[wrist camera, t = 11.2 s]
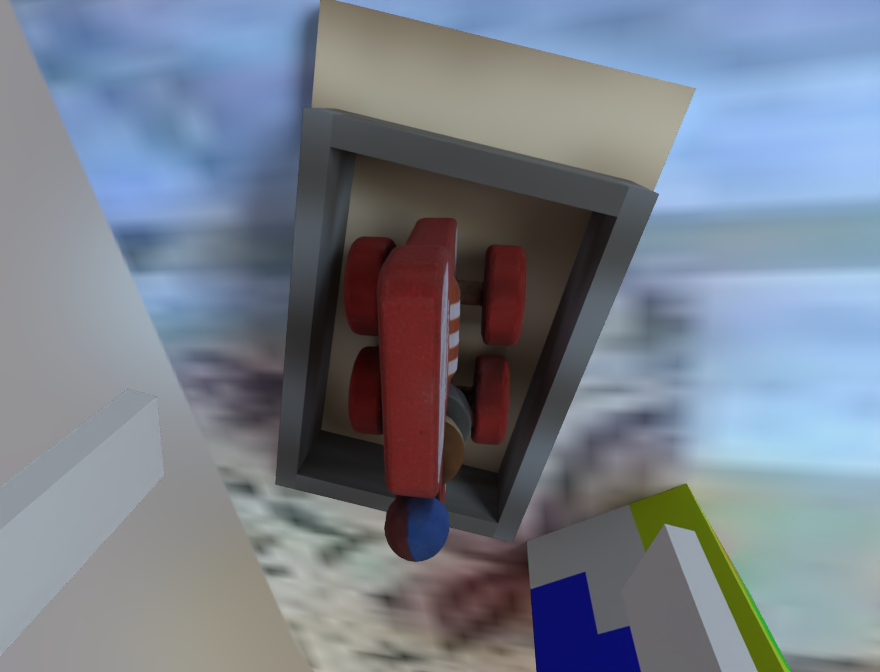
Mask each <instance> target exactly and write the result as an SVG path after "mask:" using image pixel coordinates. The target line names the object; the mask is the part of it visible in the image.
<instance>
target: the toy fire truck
mask: <svg viewBox="0 0 880 672" xmlns="http://www.w3.org/2000/svg"><path fill="white" fill-rule="evenodd" d="M456 261H457V221H456V220H455V219H454V218H421V219H419V220H418V221H417V222H416V224H415V226H414V228H413V230H412V231H411V234H410V235H409V237H408V239H407V241H406V244H405V245H402V246H399V247H396V244H395V243H394V241H393V240H392V239H390V238H387V237H369V236H363V237H359V238H357V239H356V240H355V241H354V242H353V243H352V245H351V247H350V250H349V253H348V257H347V261H346V266H345V274H344V307H345V313H346V318H347V321H348V325H349V327H350V329H351V330H352V332H354V333H355V334H358V335H365V336H379V347H374V346H367V347H364V348H362V349H361V350H360V352H359V353H358V355H357V357H356V360H355V362H354V366H353V370H352V374H351V379H350V386H349V395H348V414H349V420H350V423H351V426H352V428H353V430H354V431H355V432H357V433H361V434H372V435H382V434H383V438H384V463H385V482H386V486H387V488H388V490H389V492H391V493H393V494H395V500H394V501H393V502H392V503H391V504H390V506H389V508H388V511H387V514H386V521H385V527H384V529H385V536H386V539H387V542H388V544H389V546H390V547H391V549H392V550H393V551H394V552H395V553H396V554H397V555H398V556H399V557H401V558H403V559H405V560H408V561H414V562H418V561H424V560H427V559H429V558H431V557H433V556H435V555H436V554H437V553H438V552H439V551H440V549H441V548H442V547H443V545H444V544H445V542H446V539H447V536H448V532H449V519H450V518H449V513H448V511H447V509H446V507H445V506H444V501H445V491H446V483H448V482H449V481H450V480H451V479H452V478H453V477H454V476H455V475H456V474H457V473H458V471H459V469H460V467H461V465H462V462H463V459H464V454H465V450H464V443H465V442H466V440H467V438H468V436H469V434H470V430H471V439H472V441H473V442H474V443H476V444H489V445H499V444H501V443H502V442H503V441H504V438H505V435H506V429H507V420H508V411H509V393H510V369H509V364H508V360H507V359H506V358H504V357H502V356H484V355H483V356H478V357H477V358H476V360H475V368H474V380H473V386H471V387H467V386H454V385H453V384H452V377H453V376H454V374H455V372H456V370H457V362H458V345H459V324H460V304H463V305H473V306H476V305H479V306H482V320H481V335H482V339H483V342H484V343H485V344H486V345H497V346H513V345H516V343H517V342H518V341H519V339H520V336H521V331H522V325H523V317H524V308H525V296H526V255H525V251H524V249H523V248H522V247H520V246H514V245H497V244H495V245H491V246H489V247H488V249H487V250H486V255H485V269H484V281H483V282H477V281H468V280H458V279H457V276H456V269H457V263H456Z"/></svg>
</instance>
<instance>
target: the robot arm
mask: <svg viewBox="0 0 880 672" xmlns="http://www.w3.org/2000/svg"><path fill="white" fill-rule="evenodd" d="M163 467H164V466H163V456H162V445H161V435H160V424H159V414H158V403H157V396H154V395H149V394H145V393H142V392H138V391H134V390H130V389H127V390H126V391H124V392H123V393H122V394H120V395H119V396H118V397H116V398H115V399H114V400H112V401H111V402H110V403H109V404H107V405H106V406H105V407H103V408H102V409H101V410H100V411H98V412H97V413H96V414H94V415H93V416H92V417H90V418H89V419H88V420H86V421H85V422H84V423H82V424H81V425H80V426H79V427H77V428H76V429H75V430H74V431H72V432H71V433H70V434H68V435H67V436H65V437H64V438H63V439H62V440H60V441H59V442H58V443H56V444H55V445H54V446H53V447H51V448H50V449H48V450H47V451H46V452H45V453H43V454H42V455H41V456H39V457H38V458H37V459H35V460H34V461H33V462H31V463H30V464H29V465H28V466H26V467H25V468H24V469H22V470H21V471H20V472H18V473H17V474H16V475H15V476H13V477H12V478H11V479H9V480H8V481H7V482H5V483H4V484H3V485H1V486H0V656H1V655H2V654H3V653H4V652H5V651H6V649H7V648H8V647H9V646H10V645H11V644H12V643H13V642H14V640H16V638H17V637H18V636H19V635H20V634H21V633H22V632H23V631H24V630H25V628H26V627H27V626H28V625H29V624H30V623H31V622H32V621H33V620H34V619H35V617H36V616H37V615H38V614H39V613H40V612H41V611H42V610H43V609H44V608H45V606H46V605H47V604H48V603H49V602H50V601H51V600H52V599H53V598H54V596H55V595H56V594H57V593H58V592H59V591H60V590H61V589H62V588H63V586H64V585H65V584H66V583H67V582H68V581H69V580H70V579H71V578H72V576H73V575H74V574H75V573H76V572H77V571H78V570H79V569H80V568H81V567H82V566H83V564H84V563H85V562H86V561H87V560H88V559H89V558H90V557H91V556H92V555H93V553H94V552H95V551H96V550H97V549H98V548H99V547H100V546H101V545H102V543H103V542H104V541H105V540H106V539H107V538H108V537H109V536H110V535H111V534H112V532H113V531H114V530H115V529H116V528H117V527H118V526H119V525H120V523H121V522H122V521H123V520H124V519H125V518H126V517H127V516H128V515H129V514H130V512H131V511H132V510H133V509H134V508H135V507H136V506H137V504H139V503H140V501H141V500H142V499H143V498H144V497H145V496H146V495H147V494H148V493H149V492H150V490H151V489H152V488H153V487H154V486H155V485H156V484H157V483H158V482H159V480H160V479H161V478H162V477H163V476H164V468H163ZM621 592H622V596H623V600H624V604H625V608H626V612H627V616H628V620H629V625H630V629H631V633H632V637H633V641H634V645H635V649H636V653H637V657H638V661H639V665H640V670H641V672H758V671H757V669H756V667H755V665H754V663H753V660H752V658H751V656H750V654H749V651H748V649H747V647H746V645H745V643H744V640H743V638H742V636H741V634H740V631H739V629H738V627H737V625H736V623H735V620H734V618H733V616H732V614H731V611H730V609H729V607H728V605H727V602H726V600H725V598H724V596H723V594H722V591H721V589H720V587H719V585H718V582H717V580H716V578H715V576H714V574H713V571H712V569H711V567H710V565H709V562H708V560H707V558H706V556H705V554H704V551H703V549H702V547H701V545H700V542H699V540H698V538H697V536H696V533H695V531H691V530H687V529H683V528H679V527H675V526H671V525H667V524H664V526H663V527H662V529H661V530H660V532H659V533H658V535H657V536H656V538H655V539H654V541H653V542H652V544H651V545H650V547H649V549H648V550H647V552H646V553H645V555H644V556H643V558H642V559H641V561H640V562H639V564H638V565H637V567H636V569H635V570H634V572H633V573H632V575H631V576H630V578H629V579H628V581H627V582H626V584H625V585H624V587H623V589H622V590H621Z"/></svg>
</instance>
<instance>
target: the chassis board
mask: <svg viewBox="0 0 880 672" xmlns="http://www.w3.org/2000/svg"><path fill="white" fill-rule="evenodd" d="M695 90H696V88H692V87H688V86H684V85H680V84H676V83H672V82H667V81H663V80H659V79H655V78H651V77H647V76H643V75H639V74H635V73H631V72H627V71H622V70H618V69H614V68H610V67H606V66H602V65H598V64H594V63H590V62H586V61H581V60H577V59H573V58H569V57H565V56H561V55H557V54H553V53H549V52H545V51H541V50H536V49H532V48H528V47H524V46H520V45H516V44H512V43H508V42H504V41H500V40H495V39H491V38H487V37H483V36H479V35H475V34H471V33H467V32H463V31H459V30H455V29H450V28H446V27H442V26H438V25H434V24H430V23H426V22H422V21H418V20H414V19H409V18H405V17H401V16H397V15H393V14H389V13H385V12H381V11H377V10H373V9H369V8H364V7H360V6H356V5H352V4H348V3H344V2H340V1H336V0H320V9H319V21H318V34H317V46H316V58H315V70H314V83H313V95H312V107H311V108H310V107H303V120H302V134H301V147H300V161H299V174H298V188H297V201H296V214H295V228H294V241H293V255H292V268H291V281H290V295H289V308H288V322H287V335H286V348H285V362H284V375H283V389H282V402H281V416H280V429H279V442H278V456H277V469H276V483H275V484H276V485H280V486H284V487H288V488H292V489H296V490H300V491H304V492H308V493H312V494H316V495H321V496H325V497H329V498H333V499H337V500H341V501H345V502H349V503H353V504H357V505H361V506H365V507H369V508H373V509H377V510H382V511H386V512H387V511H388V508H389V506H390V504H391V503H392V502H393V501H394V500H395V494H393V493H391V492H389V490H388V488H387V486H386V482H385V463H384V438H383V434H382V435H372V434H361V433H357V432H355V431H354V430H353V428H352V426H351V423H350V420H349V414H348V395H349V386H350V379H351V374H352V370H353V366H354V362H355V360H356V357H357V355H358V353H359V352H360V350H361V349H362V348H364V347H367V346H374V347H379V336H365V335H358V334H355V333H354V332H352V330H351V329H350V327H349V325H348V321H347V318H346V313H345V307H344V274H345V266H346V261H347V257H348V253H349V250H350V247H351V245H352V243H353V242H354V241H355V240H356V239H357V238H359V237H363V236H369V237H387V238H390V239H392V240H393V241H394V243H395V244H396V247H399V246H402V245H405V244H406V241H407V239H408V237H409V235H410V234H411V231H412V230H413V228H414V226H415V224H416V222H417V221H418V220H419V219H421V218H454V219H455V220H456V221H457V261H456V263H457V269H456V276H457V279H458V280H468V281H477V282H483V281H484V269H485V255H486V250H487V249H488V247H489V246H491V245H495V244H497V245H514V246H520V247H522V248H523V249H524V251H525V255H526V296H525V308H524V317H523V325H522V331H521V336H520V339H519V341H518V342H517V343H516V345H513V346H497V345H486V344H485V343H484V342H483V339H482V335H481V320H482V306H479V305H476V306H473V305H463V304H460V324H459V345H458V362H457V370H456V372H455V374H454V376H453V377H452V384H453V385H454V386H467V387H471V386H473V380H474V368H475V360H476V358H477V357H478V356H483V355H484V356H502V357H504V358H506V359H507V360H508V364H509V369H510V393H509V411H508V420H507V429H506V435H505V438H504V441H503V442H502V443H501V444H499V445H489V444H476V443H474V442H473V441H472V439H471V430H470V434H469V436H468V438H467V440H466V442H465V443H464V450H465V454H464V459H463V462H462V465H461V467H460V469H459V471H458V473H457V474H456V475H455V476H454V477H453V478H452V479H451V480H450V481H449V482H448V483H446V491H445V501H444V506H445V507H446V509H447V511H448V513H449V518H450V519H449V527H451V528H455V529H459V530H463V531H467V532H471V533H475V534H479V535H483V536H487V537H491V538H496V539H500V540H504V541H508V542H512V543H513V540H514V538H515V535H516V533H517V531H518V528H519V526H520V524H521V521H522V519H523V516H524V514H525V512H526V509H527V507H528V504H529V502H530V500H531V497H532V495H533V493H534V490H535V488H536V485H537V483H538V481H539V478H540V476H541V474H542V471H543V469H544V466H545V464H546V462H547V459H548V457H549V455H550V452H551V450H552V447H553V445H554V443H555V440H556V438H557V436H558V433H559V431H560V428H561V426H562V424H563V421H564V419H565V417H566V414H567V412H568V409H569V407H570V405H571V402H572V400H573V397H574V395H575V393H576V390H577V388H578V386H579V383H580V381H581V378H582V376H583V374H584V371H585V369H586V367H587V364H588V362H589V359H590V357H591V355H592V352H593V350H594V348H595V345H596V343H597V340H598V338H599V336H600V333H601V331H602V329H603V326H604V324H605V321H606V319H607V317H608V314H609V312H610V310H611V307H612V305H613V302H614V300H615V298H616V295H617V293H618V291H619V288H620V286H621V283H622V281H623V279H624V276H625V274H626V271H627V269H628V267H629V264H630V262H631V260H632V257H633V255H634V252H635V250H636V248H637V245H638V243H639V241H640V238H641V236H642V233H643V231H644V229H645V226H646V224H647V222H648V219H649V217H650V214H651V212H652V210H653V207H654V205H655V203H656V200H657V198H658V195H659V194H658V193H656V192H653V191H654V189H655V186H656V184H657V181H658V179H659V176H660V174H661V172H662V169H663V167H664V164H665V162H666V160H667V157H668V155H669V152H670V150H671V147H672V145H673V143H674V140H675V138H676V135H677V133H678V131H679V128H680V126H681V123H682V121H683V118H684V116H685V114H686V111H687V109H688V106H689V104H690V102H691V99H692V97H693V94H694V92H695Z"/></svg>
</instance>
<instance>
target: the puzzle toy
mask: <svg viewBox="0 0 880 672" xmlns="http://www.w3.org/2000/svg"><path fill="white" fill-rule="evenodd" d="M664 524H667V525H671V526H675V527H679V528H683V529H687V530H691V531H695V533H696V536H697V538H698V540H699V542H700V545H701V547H702V549H703V551H704V554H705V556H706V558H707V560H708V562H709V565H710V567H711V569H712V571H713V574H714V576H715V578H716V580H717V582H718V585H719V587H720V589H721V591H722V594H723V596H724V598H725V600H726V602H727V605H728V607H729V609H730V611H731V614H732V616H733V618H734V620H735V623H736V625H737V627H738V629H739V631H740V634H741V636H742V638H743V640H744V643H745V645H746V647H747V649H748V651H749V654H750V656H751V658H752V660H753V663H754V665H755V667H756V669H757V671H758V672H791V670H790V668H789V666H788V664H787V663H786V661H785V659H784V657H783V655H782V653H781V651H780V649H779V648H778V646H777V644H776V642H775V640H774V638H773V636H772V634H771V632H770V631H769V629H768V627H767V625H766V623H765V621H764V619H763V617H762V616H761V614H760V612H759V610H758V608H757V606H756V604H755V602H754V601H753V599H752V597H751V595H750V593H749V591H748V589H747V588H746V586H745V584H744V583H743V581H742V579H741V577H740V576H739V574H738V572H737V570H736V569H735V567H734V565H733V563H732V562H731V560H730V558H729V556H728V555H727V553H726V551H725V549H724V548H723V546H722V544H721V543H720V541H719V539H718V537H717V536H716V534H715V532H714V530H713V529H712V527H711V525H710V523H709V522H708V520H707V518H706V516H705V515H704V513H703V511H702V509H701V508H700V506H699V504H698V503H697V501H696V499H695V497H694V496H693V494H692V492H691V490H690V489H689V487H688V485H687V484H684V485H681V486H678V487H676V488H673V489H670V490H667V491H664V492H662V493H659V494H656V495H653V496H651V497H648V498H645V499H642V500H640V501H637V502H634V503H631V504H628V505H626V506H623V507H620V508H617V509H615V510H612V511H609V512H606V513H604V514H601V515H598V516H595V517H592V518H590V519H587V520H584V521H581V522H579V523H576V524H573V525H570V526H568V527H565V528H562V529H559V530H556V531H554V532H551V533H548V534H545V535H543V536H540V537H537V538H534V539H532V540H529V541H527V551H528V564H529V578H530V591H531V605H532V618H533V631H534V645H535V658H536V671H537V672H641V670H640V665H639V661H638V657H637V653H636V649H635V645H634V641H633V637H632V633H631V629H630V625H629V620H628V616H627V612H626V608H625V604H624V600H623V596H622V592H621V590H622V589H623V587H624V585H625V584H626V582H627V581H628V579H629V578H630V576H631V575H632V573H633V572H634V570H635V569H636V567H637V565H638V564H639V562H640V561H641V559H642V558H643V556H644V555H645V553H646V552H647V550H648V549H649V547H650V545H651V544H652V542H653V541H654V539H655V538H656V536H657V535H658V533H659V532H660V530H661V529H662V527H663V526H664Z"/></svg>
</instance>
